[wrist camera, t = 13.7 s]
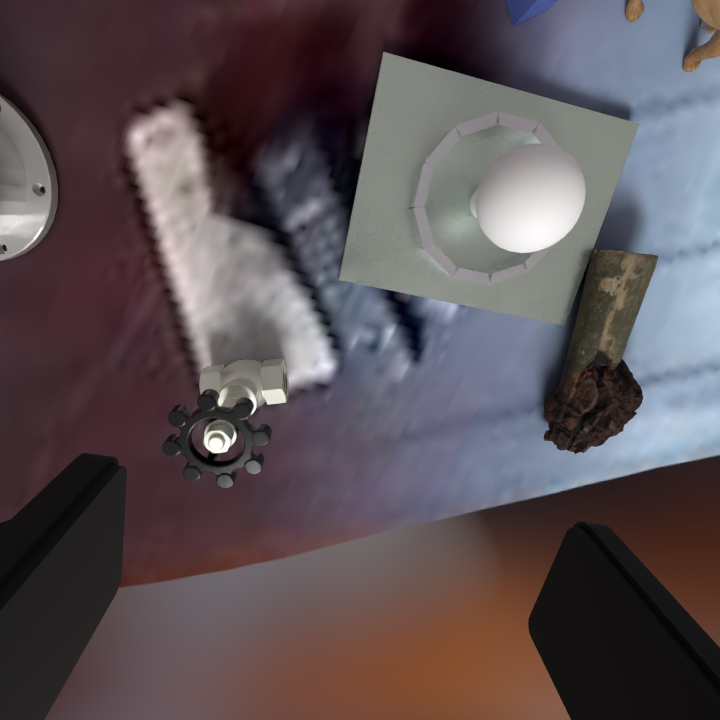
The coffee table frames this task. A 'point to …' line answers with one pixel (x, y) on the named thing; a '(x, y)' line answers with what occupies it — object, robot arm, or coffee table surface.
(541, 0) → the walkman
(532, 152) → the lightbulb
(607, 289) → the brown camo elongated piece
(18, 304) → the coffee table surface
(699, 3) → the lion figurine
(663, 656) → the robot arm
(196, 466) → the valve
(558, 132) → the duct collar
